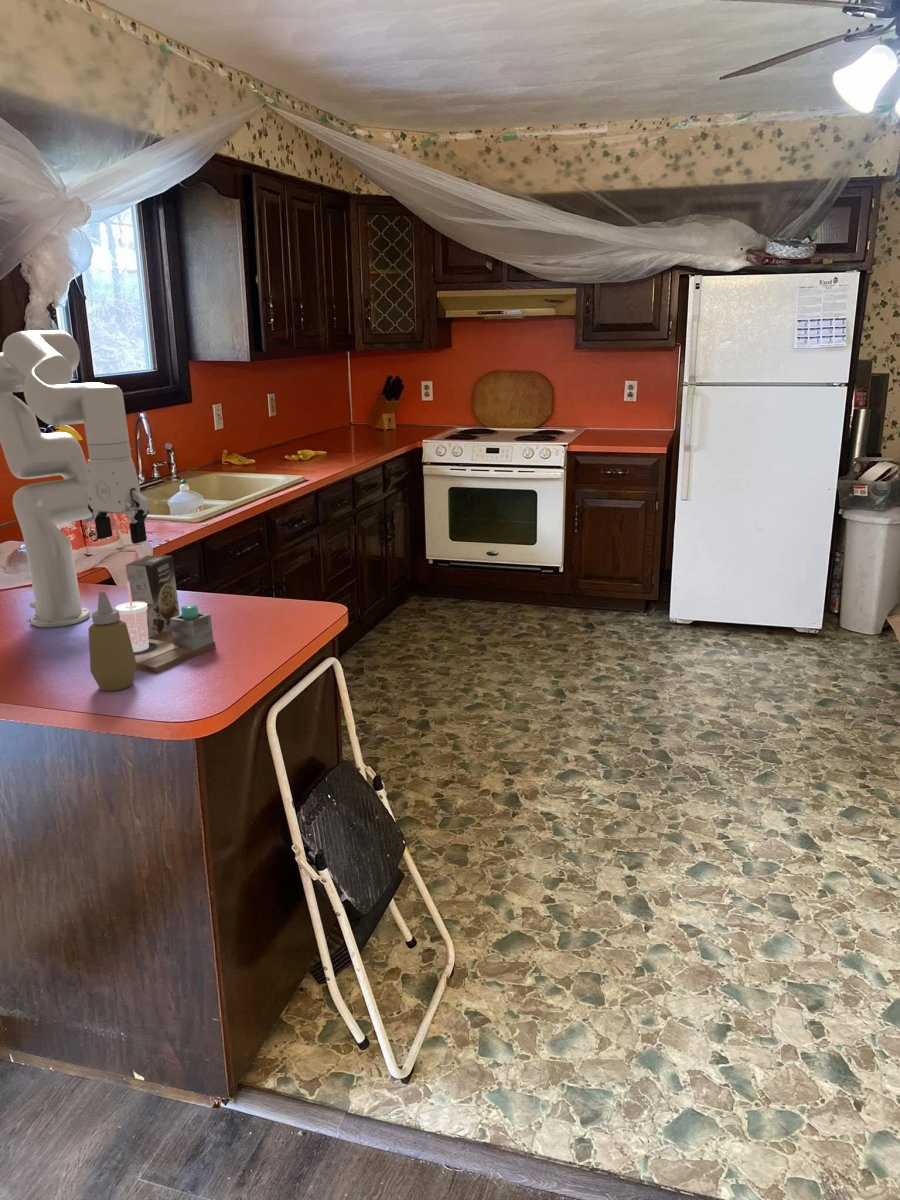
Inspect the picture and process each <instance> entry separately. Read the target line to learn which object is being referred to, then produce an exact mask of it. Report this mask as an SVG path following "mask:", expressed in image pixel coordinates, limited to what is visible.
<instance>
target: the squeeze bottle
mask: <svg viewBox="0 0 900 1200" xmlns="http://www.w3.org/2000/svg"><path fill="white" fill-rule="evenodd" d="M97 600H98V601H97V603H98V604H97V610H96V611H94V612H92V613H91V618H92V619H91V620H92V624H91V625H90V626H89V627H88V643H89V644H88V647H89V649H88V650H89V667H90V668H89V669H90V673H91V675H92V677H93V678H94V680H95V682H96V684H97V686H98V687H99V689H100V690H102V691H106V692H108V691H109V692H111V691H112V692H113V691H119V690H123V689H126V688H129V687H131V686H132V685H133V683H134V677H135V674H136V673H135V672H136V670H137V669H136V660H135V656H134V652H133V648H132V644H131V640H130V637H129V633H128V629H127V625H126V623H125V622H124V621H122V620H120V615H119V610H117V609H115V608H112V604H111V602H110V600H109V597H108V595H107V593H106V592H105V591H102V592H99V593H98V599H97Z"/></svg>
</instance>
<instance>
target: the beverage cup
mask: <svg viewBox="0 0 900 1200" xmlns="http://www.w3.org/2000/svg"><path fill="white" fill-rule="evenodd" d="M126 585H127V593H128V600H129V601H128V602H124V603H121V604H118V605H117V606H115V608H114V609H117V610H119V615H120V620H122V621H124V622H125V623H126V625H127V629H128V633H129V637H130V640H131V644H132V648H133V652H139V651H143V650H146V649H148V648H149V639H148V638H149V637H148V625H147V608H148V607H147V603H145V602H132V598H131V591H130V584H129V582H128V581H126Z"/></svg>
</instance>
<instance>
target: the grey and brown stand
mask: <svg viewBox="0 0 900 1200" xmlns="http://www.w3.org/2000/svg"><path fill="white" fill-rule="evenodd" d="M198 615H199V617H198V618H196V619H193V620H184V619H182V613H181V614H180V615H178V616H176V617H173V618H170V621H171V629H172V630H171V632H168V633H167V632H162V633H159V634H157V635H154V636H151V637H148V639H149V648H148V649H146V650H143V651H139V652H134V656H135V660H136V669H135V670H141V671H145V672H149V673H153V674H158V673H160V672H162V671H165V670H167V669H169V668H171V667H173V666H176V665H179V664H180V663H181V664H182V662H185V661H187V660H189V659H192V658H194V657H196V656H197V657H198V656H199V655H201V654H203V653H206V652H208V651H210V650H213V649H215V648H216V647H217V646H216V641H214V632H213V625H212V624H213V623H212V617H211V616H212V615H211V614H210V613H205V612H200V611H198Z"/></svg>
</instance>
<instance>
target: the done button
mask: <svg viewBox="0 0 900 1200" xmlns="http://www.w3.org/2000/svg"><path fill="white" fill-rule="evenodd" d="M180 609H181V610H180V611H181V614H182V619H184V620H193V619H196V618H198V617H199V615H198V612H199V608H198V605H197V604H186V605H183V606H181V607H180Z"/></svg>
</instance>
